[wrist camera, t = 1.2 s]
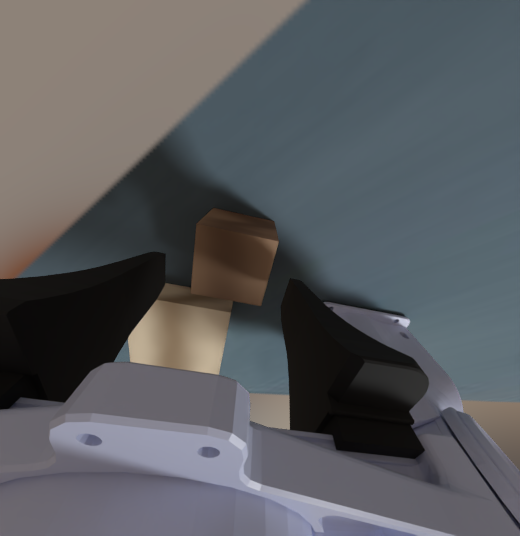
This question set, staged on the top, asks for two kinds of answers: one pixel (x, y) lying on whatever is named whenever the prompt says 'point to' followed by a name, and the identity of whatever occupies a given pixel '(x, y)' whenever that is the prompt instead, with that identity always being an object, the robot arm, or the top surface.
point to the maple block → (182, 331)
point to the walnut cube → (233, 256)
